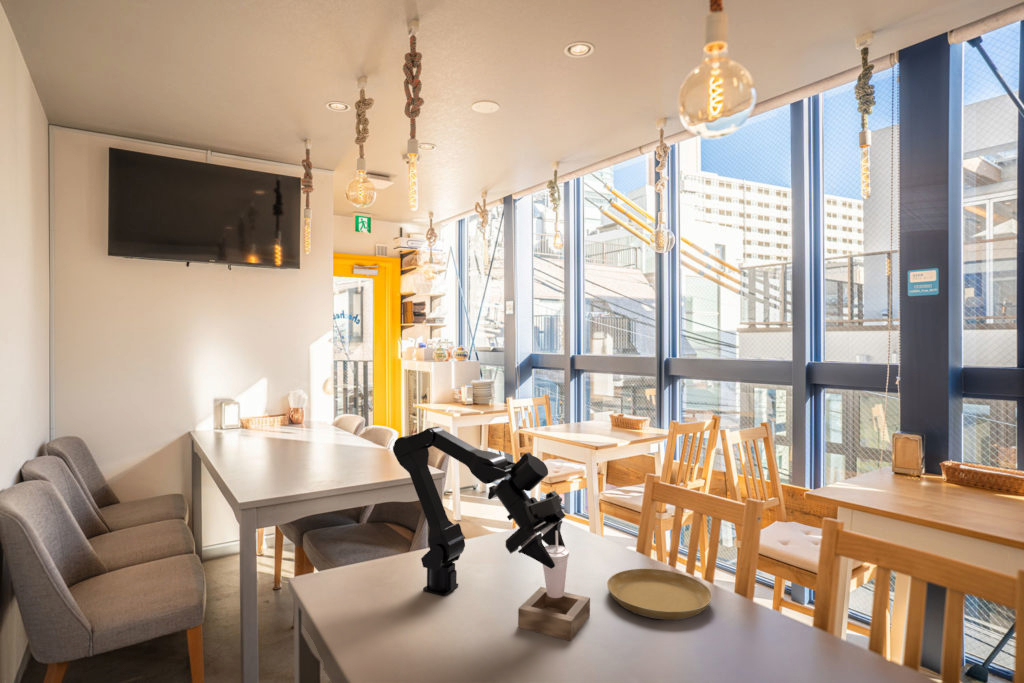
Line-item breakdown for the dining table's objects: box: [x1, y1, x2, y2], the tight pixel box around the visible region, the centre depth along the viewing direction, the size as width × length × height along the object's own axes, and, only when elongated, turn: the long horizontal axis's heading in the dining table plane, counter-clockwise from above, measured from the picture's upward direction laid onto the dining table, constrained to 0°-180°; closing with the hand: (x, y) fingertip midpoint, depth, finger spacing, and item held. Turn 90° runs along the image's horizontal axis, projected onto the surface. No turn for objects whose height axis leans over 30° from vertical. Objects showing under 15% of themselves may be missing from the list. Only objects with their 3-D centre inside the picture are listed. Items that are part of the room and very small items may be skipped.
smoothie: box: [542, 531, 570, 598], centre depth 124 cm, size 6×6×14 cm
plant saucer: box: [606, 568, 713, 621], centre depth 134 cm, size 24×24×3 cm
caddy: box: [517, 586, 591, 642], centre depth 124 cm, size 12×12×4 cm
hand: (560, 562), depth 123 cm, fingers closed on smoothie, 6 cm apart
